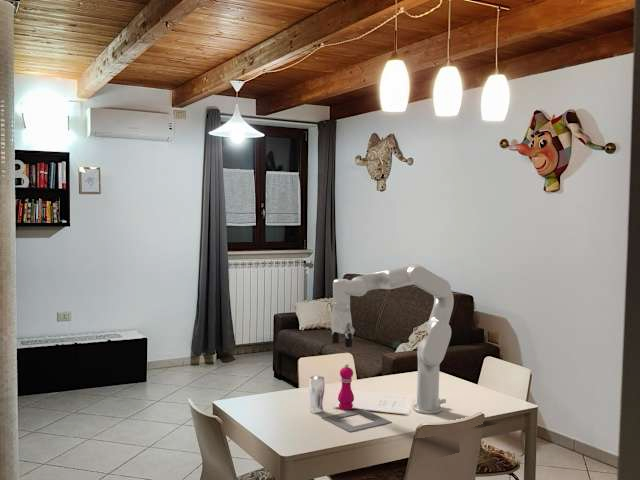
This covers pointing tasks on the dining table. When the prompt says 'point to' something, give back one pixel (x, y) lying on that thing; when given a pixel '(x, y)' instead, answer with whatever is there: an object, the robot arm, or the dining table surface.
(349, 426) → the letter o mat
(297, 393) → the dining table surface
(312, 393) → the beer glass
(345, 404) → the pepper mill
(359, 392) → the dining table surface
